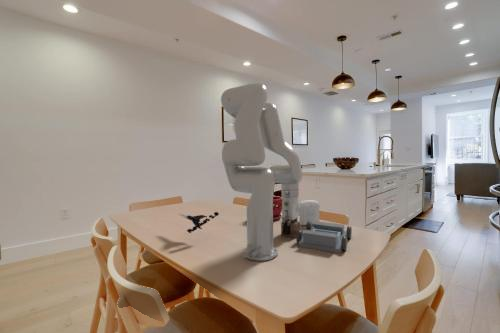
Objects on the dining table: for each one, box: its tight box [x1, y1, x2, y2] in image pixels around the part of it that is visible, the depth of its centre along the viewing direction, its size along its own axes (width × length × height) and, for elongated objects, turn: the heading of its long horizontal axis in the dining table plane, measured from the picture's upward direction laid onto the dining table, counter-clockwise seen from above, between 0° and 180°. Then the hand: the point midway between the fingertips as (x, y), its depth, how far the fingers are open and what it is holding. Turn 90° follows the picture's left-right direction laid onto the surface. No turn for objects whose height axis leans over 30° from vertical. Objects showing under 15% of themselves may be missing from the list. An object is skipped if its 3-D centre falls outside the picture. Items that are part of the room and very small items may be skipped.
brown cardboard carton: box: [280, 220, 301, 239], centre depth 109 cm, size 4×7×6 cm, turn 61°
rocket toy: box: [178, 211, 220, 234], centre depth 110 cm, size 14×6×23 cm
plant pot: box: [273, 195, 283, 221], centre depth 137 cm, size 13×13×12 cm
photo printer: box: [298, 199, 320, 226], centre depth 125 cm, size 10×4×12 cm, turn 98°
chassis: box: [295, 220, 353, 254], centre depth 102 cm, size 22×18×6 cm
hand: (290, 231), depth 109 cm, fingers open, 9 cm apart
